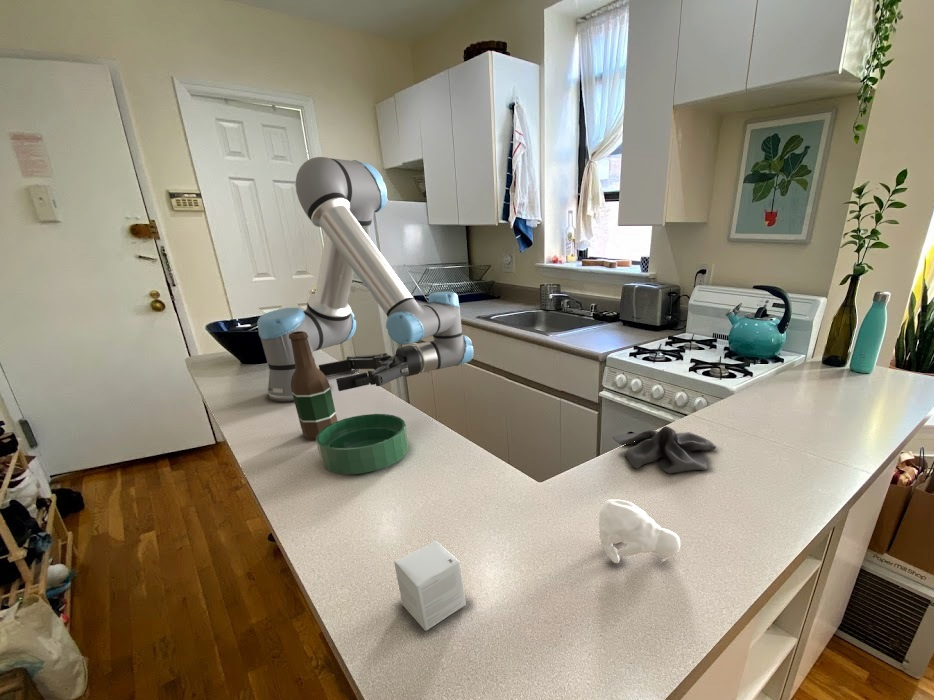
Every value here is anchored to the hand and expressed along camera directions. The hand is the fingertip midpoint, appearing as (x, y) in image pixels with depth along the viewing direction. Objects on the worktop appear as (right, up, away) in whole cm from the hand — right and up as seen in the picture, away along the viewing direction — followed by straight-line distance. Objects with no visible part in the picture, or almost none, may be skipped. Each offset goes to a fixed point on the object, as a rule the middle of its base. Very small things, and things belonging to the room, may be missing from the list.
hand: (328, 377), depth 106 cm
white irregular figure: (+64, -29, -37) cm, 80 cm away
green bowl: (+12, -17, -8) cm, 22 cm away
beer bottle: (-3, -13, +3) cm, 14 cm away
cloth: (+74, -16, -8) cm, 76 cm away
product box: (+36, -34, -46) cm, 67 cm away
